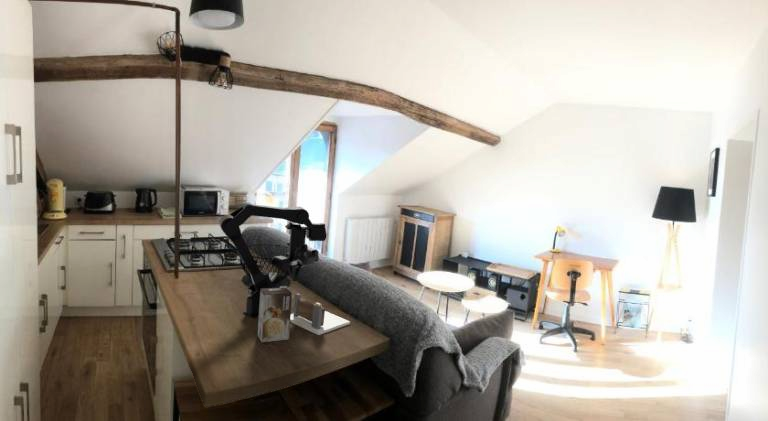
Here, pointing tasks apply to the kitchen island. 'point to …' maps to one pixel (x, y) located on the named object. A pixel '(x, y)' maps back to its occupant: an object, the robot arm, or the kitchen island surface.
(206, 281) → the kitchen island surface
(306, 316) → the gate
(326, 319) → the gate frame
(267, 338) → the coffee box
